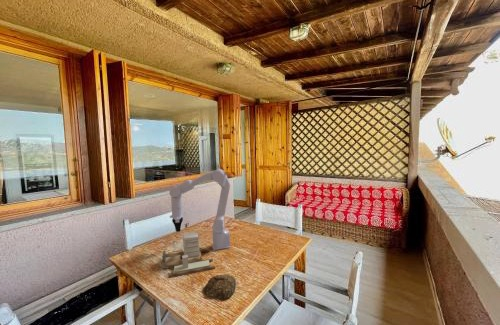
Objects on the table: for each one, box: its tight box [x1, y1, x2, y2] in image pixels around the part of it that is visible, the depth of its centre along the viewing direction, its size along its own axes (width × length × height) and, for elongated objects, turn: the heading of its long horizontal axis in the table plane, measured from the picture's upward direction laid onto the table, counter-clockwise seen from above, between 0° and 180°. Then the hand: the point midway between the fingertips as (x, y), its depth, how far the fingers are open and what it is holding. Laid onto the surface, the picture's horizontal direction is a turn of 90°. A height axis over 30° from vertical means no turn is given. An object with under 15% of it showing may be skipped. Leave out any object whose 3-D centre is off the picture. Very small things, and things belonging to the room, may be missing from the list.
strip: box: [173, 255, 211, 273], centre depth 102 cm, size 16×5×6 cm, turn 108°
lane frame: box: [168, 248, 216, 278], centre depth 107 cm, size 20×20×1 cm
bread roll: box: [202, 274, 237, 301], centre depth 86 cm, size 13×12×5 cm
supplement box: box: [182, 231, 200, 258], centre depth 111 cm, size 7×7×13 cm
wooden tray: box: [161, 247, 203, 270], centre depth 109 cm, size 18×10×5 cm, turn 108°
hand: (178, 231), depth 122 cm, fingers closed
